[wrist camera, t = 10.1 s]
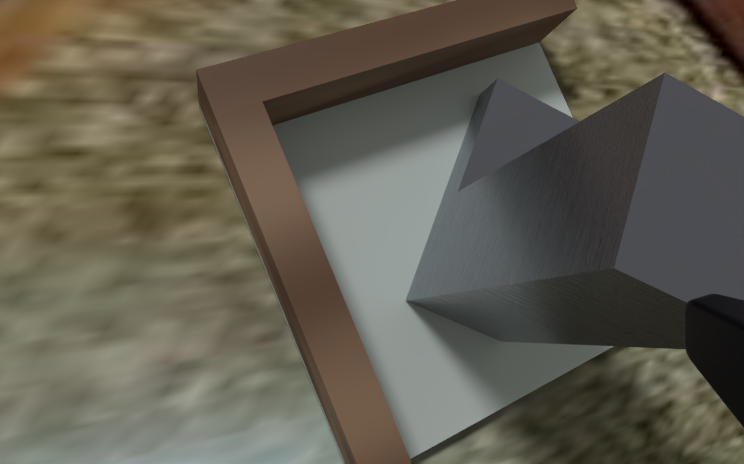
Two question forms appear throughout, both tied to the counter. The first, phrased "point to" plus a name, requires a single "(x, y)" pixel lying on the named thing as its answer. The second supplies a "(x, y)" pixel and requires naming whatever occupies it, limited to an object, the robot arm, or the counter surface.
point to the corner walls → (283, 199)
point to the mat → (414, 242)
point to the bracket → (588, 218)
